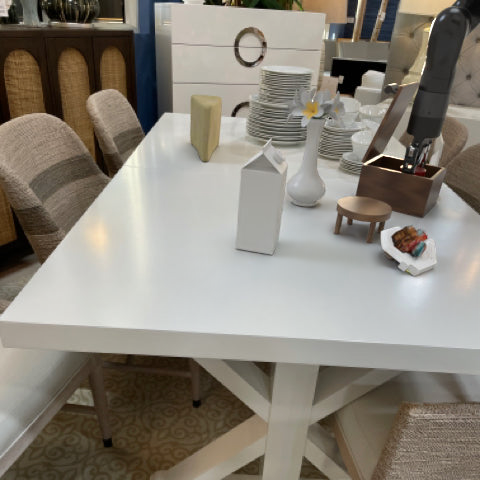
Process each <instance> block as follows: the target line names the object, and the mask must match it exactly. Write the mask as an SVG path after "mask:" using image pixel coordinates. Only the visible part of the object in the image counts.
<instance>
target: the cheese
mask: <svg viewBox="0 0 480 480" xmlns="http://www.w3.org/2000/svg"><path fill="white" fill-rule="evenodd" d="M222 104H223V101H222V97H221V96H218V95H210V94H208V95H207V94H192V95H191V96H190V122H189V123H190V126H189V128H190V129H189V141H190V144H191V145H192V147H194V148H195V149H196V151H197V154H198V156H199V158H200V160H201V162H206V163H207V162H209V161H210V158H211V156H212V155H213V152H214V151H215V149H216V148H217V146H219V145H220V138H221V137H220V135H221V126H222V125H221V124H222Z"/></svg>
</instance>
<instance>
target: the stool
mask: <svg viewBox="0 0 480 480" xmlns="http://www.w3.org/2000/svg"><path fill="white" fill-rule="evenodd" d="M336 204H337V205H336V208H335V209H336V211H337V214H336V220H335V226H334V229H333V230H334V231H333V233H334V234H335V235H340V234H341V229H342V224H343V220H344V219H343V218H344V217H345V218H347V219H346V225H349V226H350V225H353V221H357V222H363V223H369V226H368V230H367V236H366V239H365V243H366V244H368V245H370V244H373V240H374V235H375V231H376V227H377V224H378V227H377V231H376V233H378V234H381V231H383V230H385V226H386V222H387V221H389V220H390V219H391V216H392V214H393V213H392V212H393V211H392V208H391V207H390V206H389V205H388V204H386V203H384V202H382V201H379V200H376V199H372V198H367V197H359V196H356V195H355V196H354V195H351V196H344V197H341V198H339V199H338V200H337V203H336Z"/></svg>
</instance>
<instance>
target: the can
mask: <svg viewBox="0 0 480 480" xmlns="http://www.w3.org/2000/svg"><path fill="white" fill-rule="evenodd" d="M411 166H412V165H409V166H408V168H411ZM402 167H403V165H402V166H401V167H400V171H399V172H402ZM425 173H426V169H424V168H422V167H418V166H417V168H416V171H415V174H414V175H416V176H421V177H425Z"/></svg>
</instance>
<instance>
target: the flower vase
mask: <svg viewBox="0 0 480 480" xmlns="http://www.w3.org/2000/svg"><path fill="white" fill-rule="evenodd" d="M316 92H317V87H314V88H311V90H309V92H307V89H306V87H304V86H301V87H300V88H299V89H298V90H297V88H295V92H294V96H293V100H291V101H290V102H288V103H287V107H286V108H289V110H288V112H289V113H288V115H287V118H286V122H285V124H284V126H287V125H288V124H289V123H290V121H291V120H293V119H294V118H296V117H302V118H301V121H300V126H301V127H302V128H305V127H306V140H305V147H304V150H303V151H304V152H303V157H302V161H301V163H300V167H299V168H298V170H297V172H296V173H295V174H294V175H292V176H291V177H290V178H289V179H288V181H287V182H286V185H285V192H286V194H287V195H288V196H289V197H290V201H291V203H292V204H294V205H295V206H299V207H305V208H310V207H315V206H316V205H317V203H318V201H319V200H321V199H322V198H323V197H324V196H325V194H326V190H327V189H326V184H325V182H324V180H323V179H322V177H321V176H320V174H319V169H318V158H319V157H318V156H319V149H320V148H319V146H320V141H321V136H322V132H323V129H324V127H325V125H326V122H327V117H329V118H331V119H333V120H334V121H337V122H338V123H339V125H340V126H341V127H342V128H343V129H346V125H345V122H344V119H343V118H342V117H343V116H344V115H345V114H346V108H345V107H344V106H345V103H344V102H343V101H341V95H340V91H339V90H337V92H336V95H334V96H333V99H332V93H331V91H330V89H327V88H326V89H325V90H324V91H322V90H320V91H318V92H317V93H316Z"/></svg>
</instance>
